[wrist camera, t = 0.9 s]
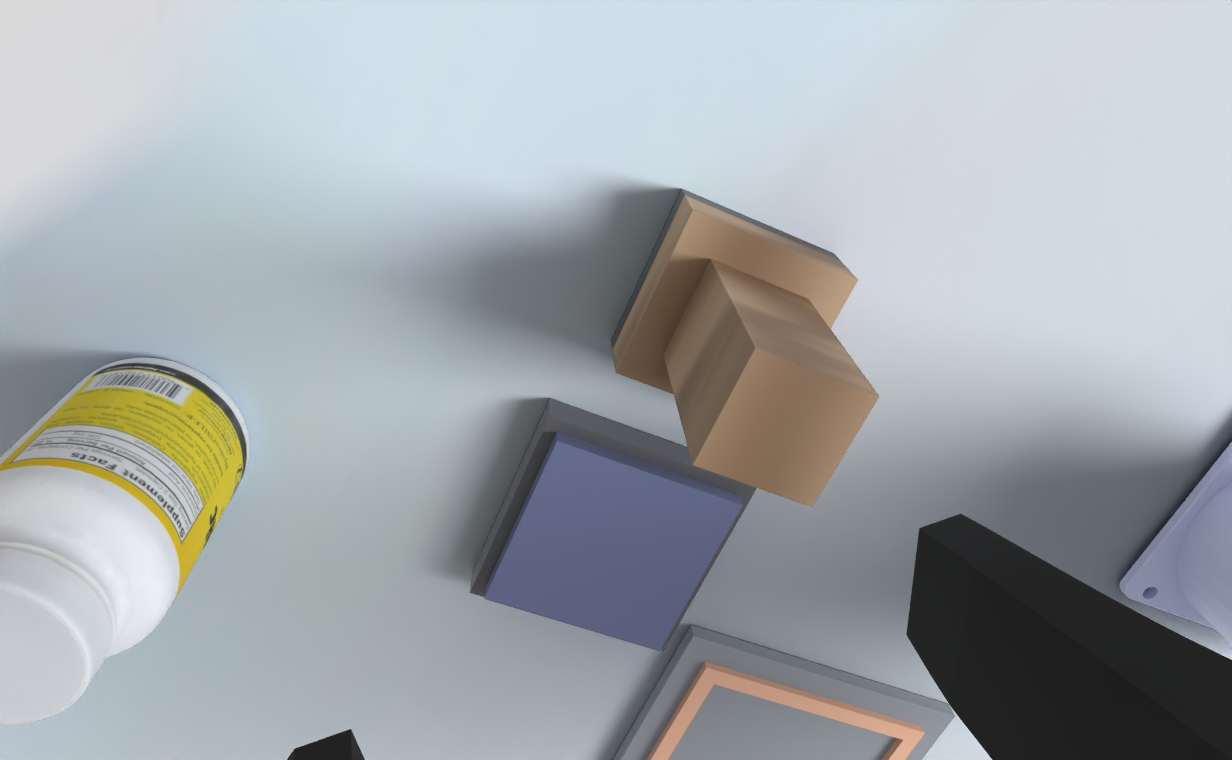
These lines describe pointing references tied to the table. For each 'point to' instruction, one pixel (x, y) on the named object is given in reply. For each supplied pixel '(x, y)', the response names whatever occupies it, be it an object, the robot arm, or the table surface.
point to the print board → (775, 709)
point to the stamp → (747, 348)
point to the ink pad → (607, 528)
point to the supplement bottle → (106, 522)
